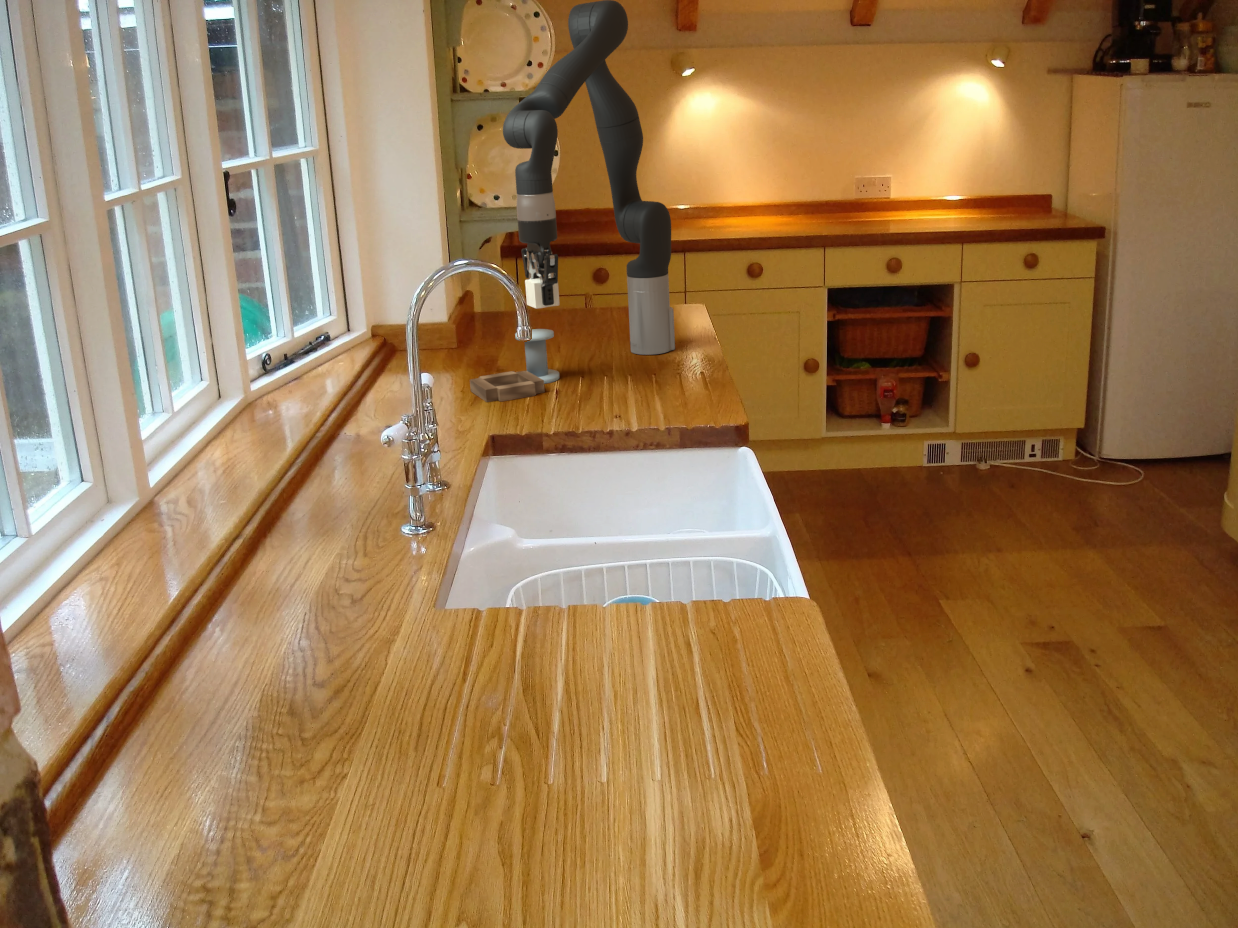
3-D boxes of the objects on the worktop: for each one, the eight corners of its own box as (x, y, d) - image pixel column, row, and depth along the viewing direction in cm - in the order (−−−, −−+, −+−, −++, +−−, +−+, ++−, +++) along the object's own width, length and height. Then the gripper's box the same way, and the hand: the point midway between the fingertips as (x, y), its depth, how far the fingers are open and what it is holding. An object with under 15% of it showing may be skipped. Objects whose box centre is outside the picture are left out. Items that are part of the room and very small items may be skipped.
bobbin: (549, 371, 261) (546, 326, 257) (566, 380, 253) (562, 333, 250) (510, 378, 257) (506, 332, 254) (525, 386, 249) (521, 340, 246)
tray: (525, 381, 254) (524, 369, 253) (546, 393, 243) (545, 381, 242) (468, 390, 249) (467, 378, 248) (488, 403, 239) (487, 391, 238)
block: (549, 301, 246) (548, 277, 244) (559, 305, 242) (557, 280, 240) (526, 304, 244) (524, 280, 242) (536, 308, 240) (534, 283, 238)
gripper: (568, 218, 233) (574, 306, 238) (540, 211, 245) (546, 295, 250) (532, 222, 230) (538, 311, 235) (505, 215, 242) (512, 300, 247)
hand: (543, 302), depth 243 cm, fingers closed on block, 5 cm apart
